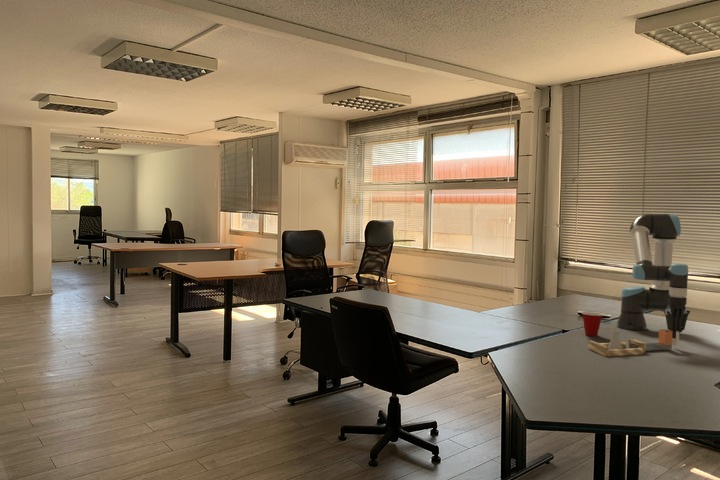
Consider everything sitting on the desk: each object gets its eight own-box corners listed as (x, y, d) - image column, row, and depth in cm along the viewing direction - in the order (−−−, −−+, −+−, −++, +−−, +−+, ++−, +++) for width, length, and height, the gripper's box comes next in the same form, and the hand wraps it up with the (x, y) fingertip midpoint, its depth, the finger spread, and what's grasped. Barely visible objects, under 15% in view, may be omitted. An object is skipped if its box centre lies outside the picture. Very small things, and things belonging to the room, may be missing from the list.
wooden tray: (630, 347, 264) (630, 337, 263) (649, 354, 251) (649, 344, 251) (588, 349, 259) (588, 339, 258) (605, 356, 246) (605, 346, 246)
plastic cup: (604, 334, 289) (605, 312, 289) (600, 338, 280) (601, 315, 280) (582, 331, 295) (583, 309, 295) (578, 335, 286) (579, 312, 286)
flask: (625, 354, 250) (626, 332, 250) (608, 353, 252) (609, 332, 251) (620, 350, 257) (621, 329, 257) (604, 349, 259) (605, 328, 258)
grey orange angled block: (665, 347, 263) (666, 329, 262) (671, 349, 259) (672, 331, 258) (629, 349, 259) (630, 330, 258) (635, 351, 255) (636, 332, 254)
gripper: (682, 294, 265) (680, 342, 267) (660, 295, 262) (657, 343, 264) (695, 297, 258) (692, 346, 259) (672, 297, 255) (669, 347, 256)
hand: (675, 344), depth 262 cm, fingers closed
